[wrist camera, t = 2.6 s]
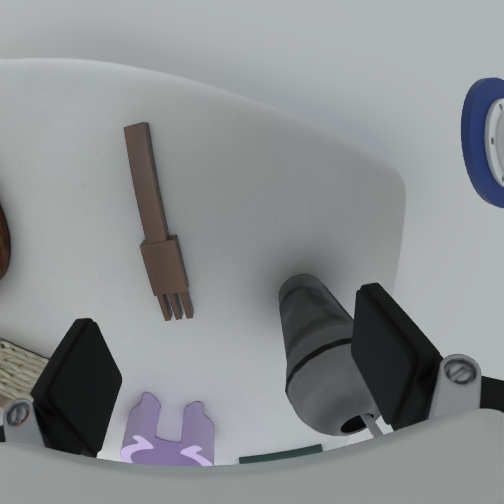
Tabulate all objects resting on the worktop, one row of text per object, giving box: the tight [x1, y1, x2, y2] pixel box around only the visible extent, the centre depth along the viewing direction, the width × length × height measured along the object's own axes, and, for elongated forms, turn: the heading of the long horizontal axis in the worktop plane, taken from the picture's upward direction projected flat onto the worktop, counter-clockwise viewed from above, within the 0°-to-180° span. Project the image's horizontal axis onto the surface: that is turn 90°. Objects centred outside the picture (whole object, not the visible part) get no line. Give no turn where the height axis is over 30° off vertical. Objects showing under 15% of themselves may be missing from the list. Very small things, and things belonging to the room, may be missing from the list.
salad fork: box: [124, 122, 193, 321], centre depth 24 cm, size 3×18×1 cm, turn 7°
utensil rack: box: [239, 444, 323, 464], centre depth 38 cm, size 14×4×5 cm, turn 97°
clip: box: [120, 393, 214, 466], centre depth 32 cm, size 20×12×7 cm, turn 167°
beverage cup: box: [279, 274, 383, 438], centre depth 19 cm, size 7×7×20 cm
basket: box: [0, 340, 83, 456], centre depth 25 cm, size 24×16×15 cm
